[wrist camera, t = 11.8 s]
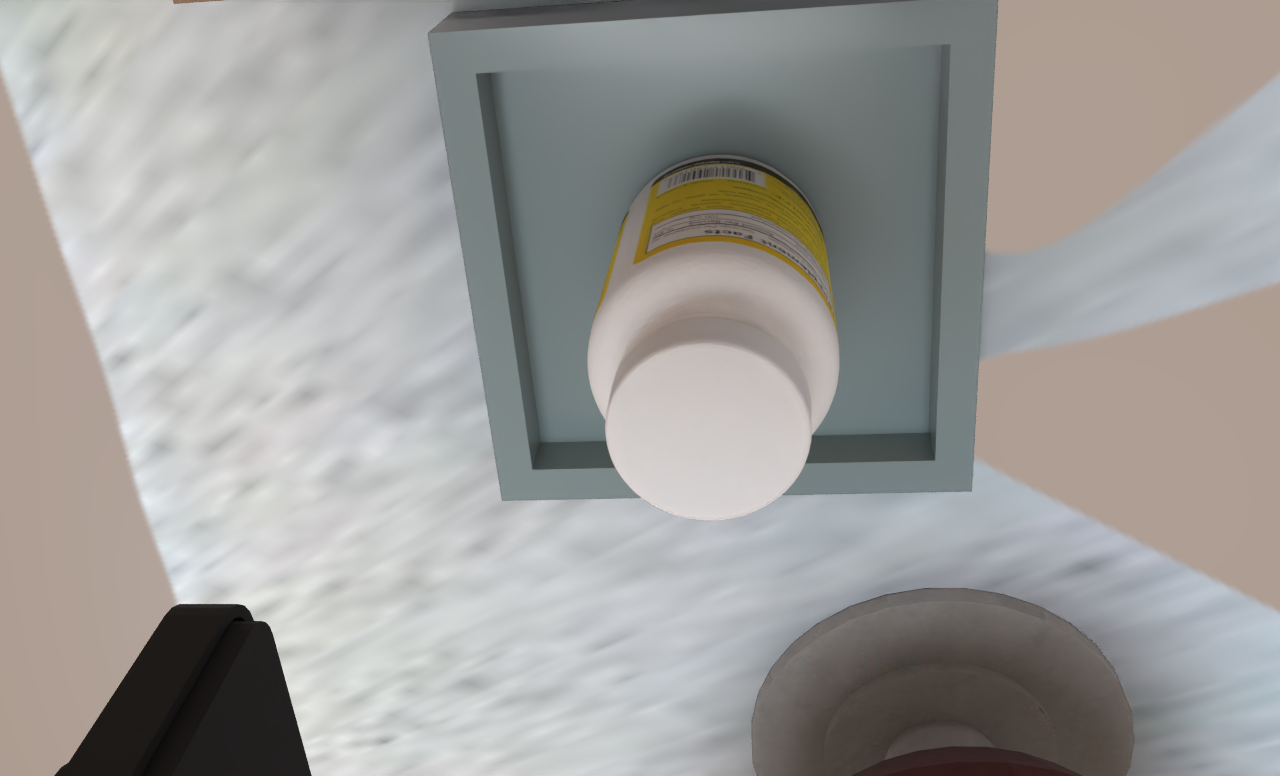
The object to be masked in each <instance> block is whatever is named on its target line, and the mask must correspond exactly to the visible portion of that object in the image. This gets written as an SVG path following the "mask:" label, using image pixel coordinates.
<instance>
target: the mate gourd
mask: <svg viewBox="0 0 1280 776" xmlns="http://www.w3.org/2000/svg"><path fill="white" fill-rule="evenodd" d="M1133 744H1134V732H1133V724H1132V716H1131V710H1130V707H1129V705H1128V702H1127V699H1126V697H1125V694H1124V692H1123V689H1122V687H1121V685H1120V682H1119V680H1118V677H1117V675H1116V672H1115V670H1114V669H1113V667H1112V666H1111V665H1110V663H1109V662H1108V661H1107V659H1106V658H1105V657H1104V655H1103V654H1102V653H1101V651H1100V650H1099V649H1098V647H1097V646H1096V645H1095V644H1094V643H1093V642H1092V641H1091V640H1089V639H1088V638H1087V637H1086V636H1085V635H1083V634H1082V633H1081V632H1080V631H1079V630H1078V629H1076V628H1075V627H1074V626H1073V625H1072V624H1070V623H1069V622H1067V621H1065V620H1063V619H1061V618H1059V617H1058V616H1056V615H1054V614H1052V613H1050V612H1048V611H1047V610H1045V609H1043V608H1041V607H1039V606H1037V605H1034V604H1030V603H1027V602H1024V601H1021V600H1018V599H1015V598H1012V597H1009V596H1006V595H1003V594H997V593H991V592H984V591H978V590H971V589H965V588H944V589H919V590H913V591H906V592H900V593H894V594H888V595H884V596H881V597H878V598H875V599H872V600H868V601H865V602H862V603H859V604H856V605H853V606H850V607H848V608H846V609H844V610H842V611H841V612H839V613H837V614H835V615H833V616H831V617H829V618H827V619H825V620H823V621H822V622H820V623H818V624H817V625H815V626H814V627H813V628H811V629H810V630H809V631H808V632H806V633H805V634H804V635H803V636H801V637H800V638H799V639H798V640H796V641H795V642H794V643H792V644H791V645H790V647H789V648H788V649H787V650H786V651H785V652H784V654H783V655H782V656H781V657H780V658H779V660H778V661H777V662H776V663H775V664H774V666H773V667H772V668H771V670H770V672H769V674H768V676H767V677H766V679H765V681H764V683H763V685H762V687H761V689H760V691H759V693H758V696H757V700H756V705H755V709H754V714H753V718H752V758H753V765H754V768H755V771H756V775H757V776H1126V775H1127V772H1128V770H1129V768H1130V763H1131V757H1132V750H1133Z"/></svg>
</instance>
